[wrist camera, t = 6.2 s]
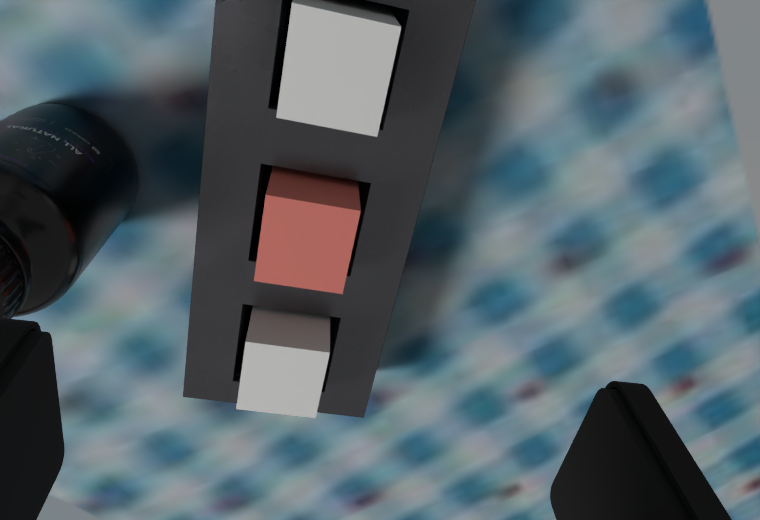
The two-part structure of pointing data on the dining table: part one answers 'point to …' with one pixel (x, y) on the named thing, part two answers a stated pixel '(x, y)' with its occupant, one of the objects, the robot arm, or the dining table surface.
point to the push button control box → (322, 156)
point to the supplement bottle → (57, 200)
